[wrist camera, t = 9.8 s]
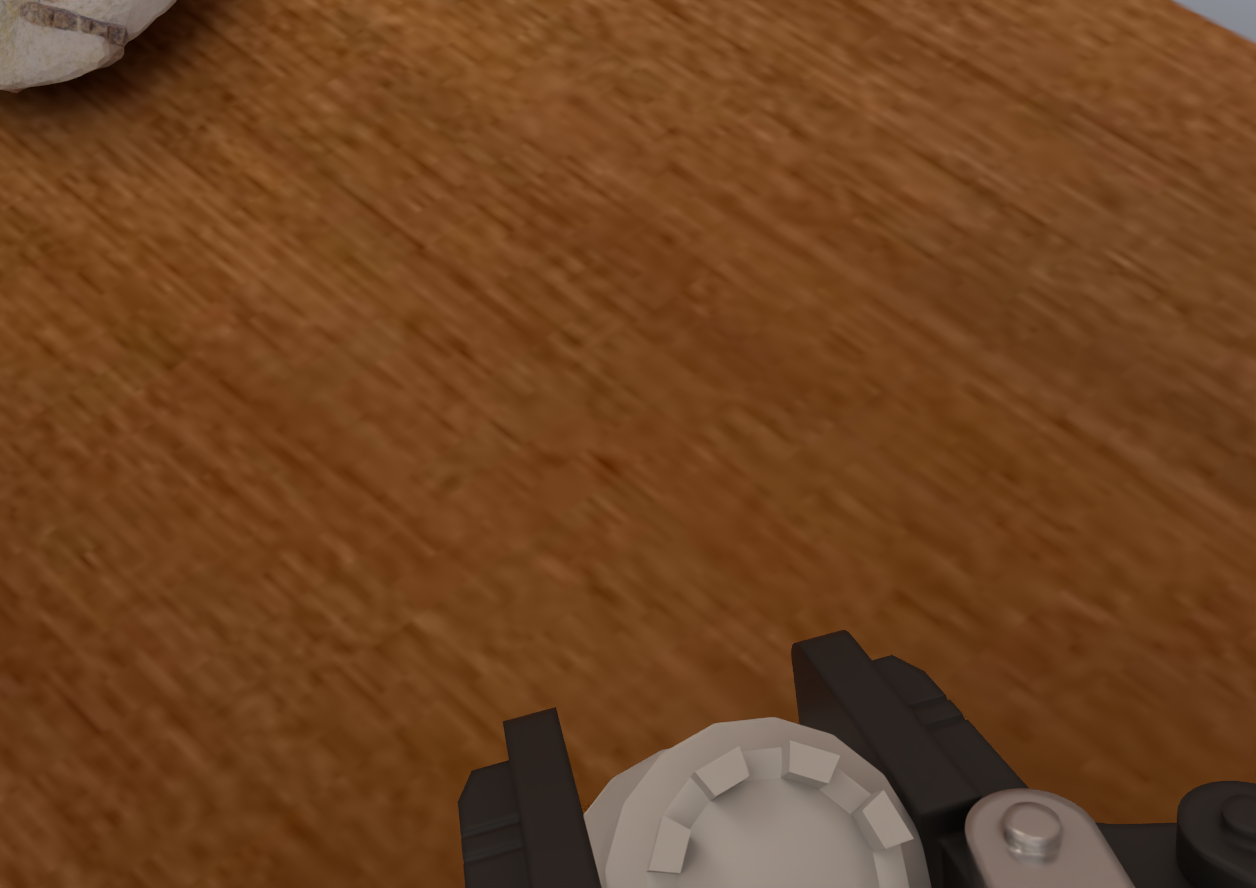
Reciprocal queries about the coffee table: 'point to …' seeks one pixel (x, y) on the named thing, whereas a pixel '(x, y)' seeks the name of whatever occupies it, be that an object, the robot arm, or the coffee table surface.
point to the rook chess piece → (754, 815)
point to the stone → (67, 37)
